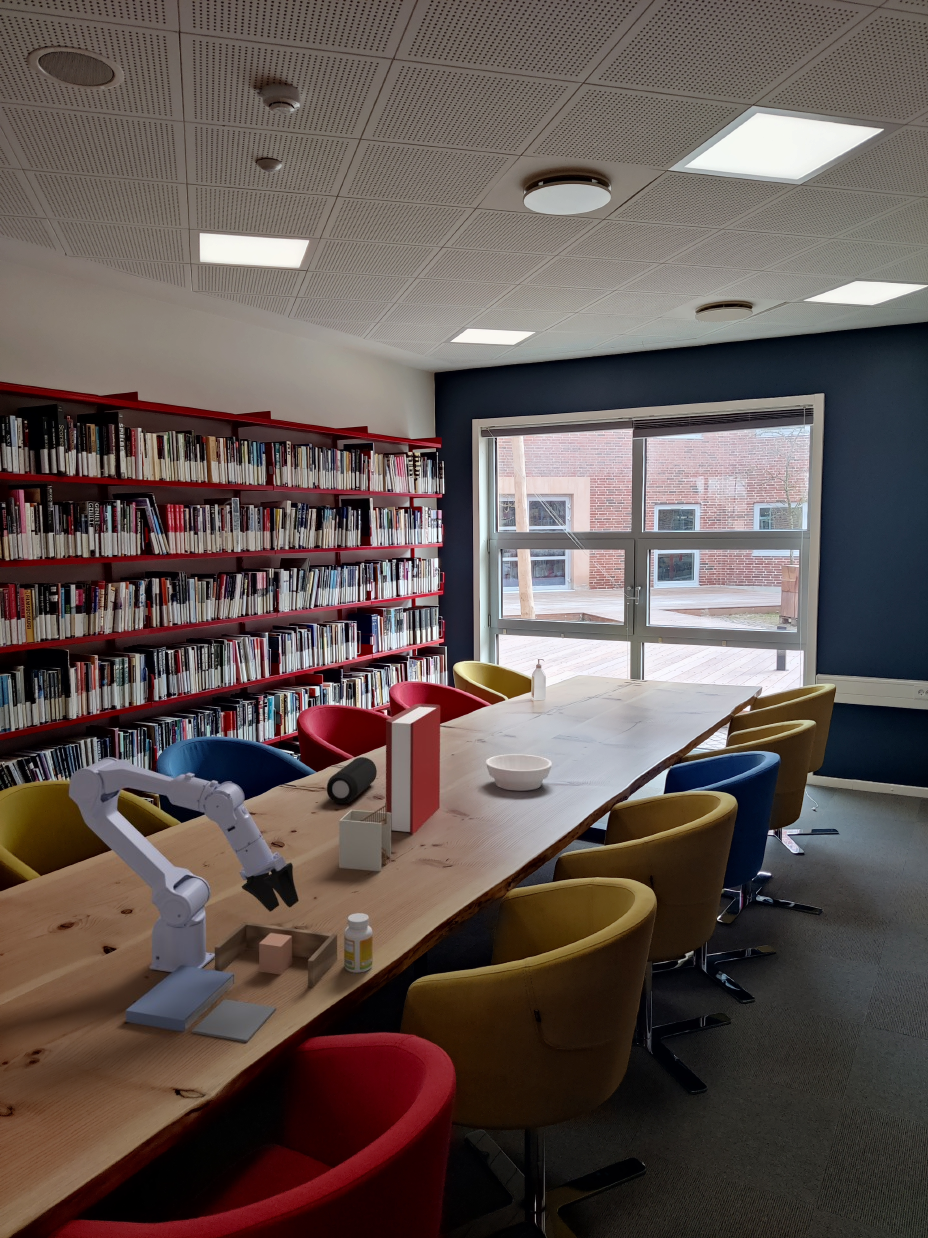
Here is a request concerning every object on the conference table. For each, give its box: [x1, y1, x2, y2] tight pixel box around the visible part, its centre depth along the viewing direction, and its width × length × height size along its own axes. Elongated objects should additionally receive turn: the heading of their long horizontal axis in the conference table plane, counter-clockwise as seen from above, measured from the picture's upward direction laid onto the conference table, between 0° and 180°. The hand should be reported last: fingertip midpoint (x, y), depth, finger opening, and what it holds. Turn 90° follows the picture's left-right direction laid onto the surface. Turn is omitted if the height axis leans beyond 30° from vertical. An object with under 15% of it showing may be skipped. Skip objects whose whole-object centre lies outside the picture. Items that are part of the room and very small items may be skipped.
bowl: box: [485, 753, 553, 792], centre depth 284 cm, size 22×22×8 cm
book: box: [385, 703, 441, 836], centre depth 247 cm, size 27×8×32 cm, turn 165°
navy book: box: [125, 965, 235, 1033], centre depth 147 cm, size 16×11×2 cm
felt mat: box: [191, 998, 277, 1043], centre depth 141 cm, size 10×10×1 cm
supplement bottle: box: [343, 912, 374, 974], centre depth 160 cm, size 5×5×10 cm
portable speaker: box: [326, 756, 378, 805], centre depth 272 cm, size 26×10×10 cm, turn 169°
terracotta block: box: [258, 933, 293, 975], centre depth 159 cm, size 4×4×6 cm
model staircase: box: [338, 801, 392, 872], centre depth 212 cm, size 9×11×17 cm
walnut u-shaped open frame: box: [214, 921, 338, 988], centre depth 160 cm, size 20×11×5 cm, turn 75°
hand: (284, 906), depth 157 cm, fingers open, 7 cm apart
